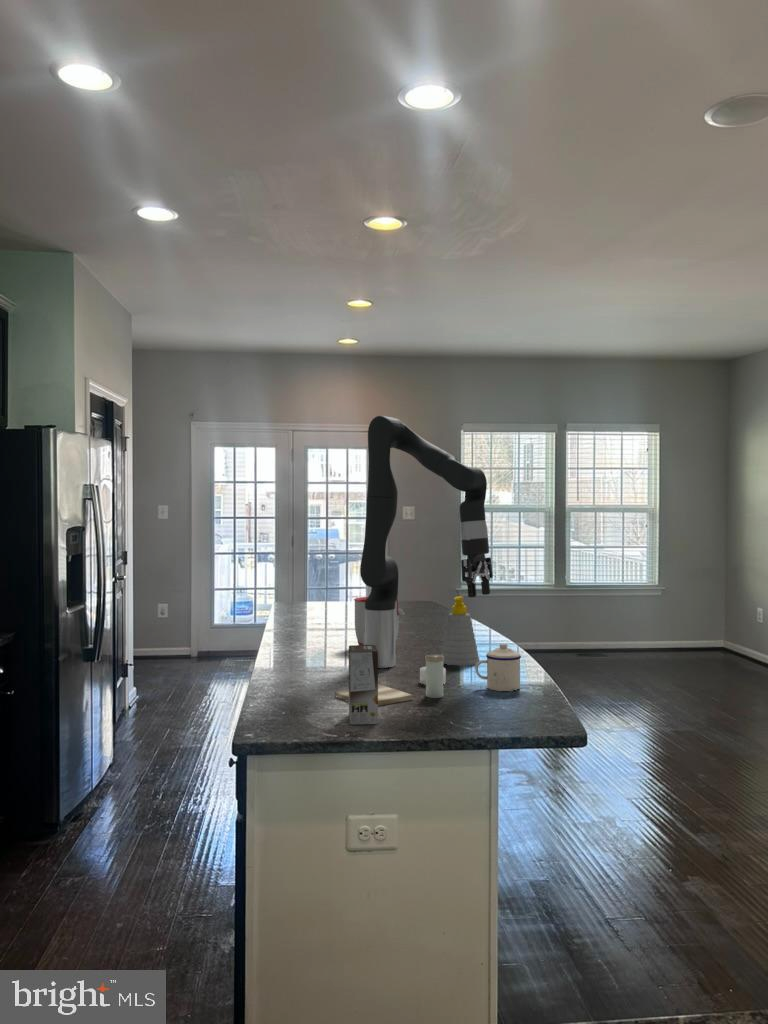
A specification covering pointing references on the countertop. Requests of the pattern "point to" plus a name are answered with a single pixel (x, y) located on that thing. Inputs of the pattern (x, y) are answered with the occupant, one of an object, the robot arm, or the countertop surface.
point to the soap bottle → (459, 637)
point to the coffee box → (363, 684)
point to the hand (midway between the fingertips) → (479, 595)
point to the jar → (434, 676)
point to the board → (382, 695)
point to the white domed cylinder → (423, 675)
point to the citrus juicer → (361, 618)
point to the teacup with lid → (502, 669)
